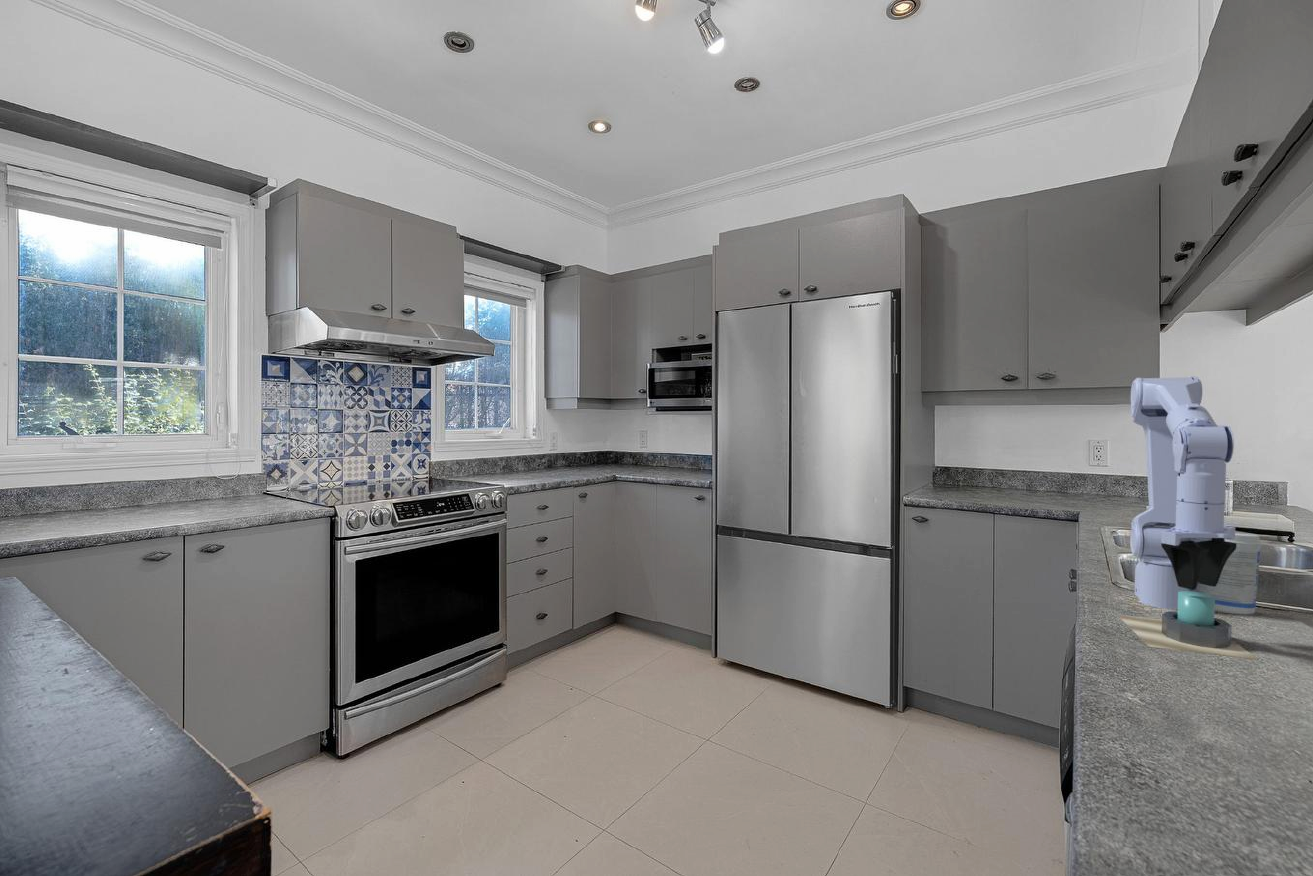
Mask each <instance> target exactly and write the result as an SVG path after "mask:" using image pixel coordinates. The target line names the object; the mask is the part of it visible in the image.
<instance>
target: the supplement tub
mask: <svg viewBox="0 0 1313 876" xmlns="http://www.w3.org/2000/svg"><path fill="white" fill-rule="evenodd" d="M1260 538H1261V537H1260V535H1259V534H1256V533H1251V532H1245V531H1238V530H1235V539H1225V541H1226V542H1232V543H1236V544H1237V545H1236V550H1235V551H1234V552H1233V553H1232V554H1231V555H1230V557H1229V558H1228V560H1227V561H1226V563H1225V565H1224V567H1223V570H1222V572H1221V575H1220V578H1219V580H1218V583H1217V585H1216V586H1215V587H1213V586H1208V585H1204V584H1199V583H1198V584H1197V587H1196V589H1195V590H1191V589H1189V591H1193V592H1200V593H1205V594H1209V595H1212V596H1214V597H1215V612H1218V613H1223V614H1232V615H1233V614H1234V615H1252V614H1255V613H1256V607H1257V605H1256V604H1257V593H1258V582H1259V581H1258V580H1259V571H1260V569H1259V568H1260V556H1261V543H1260V540H1261V539H1260Z"/></svg>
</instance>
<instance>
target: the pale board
mask: <svg viewBox="0 0 1313 876" xmlns="http://www.w3.org/2000/svg"><path fill="white" fill-rule="evenodd" d="M1117 617H1119V619H1121V621H1123V622H1124V623H1125V624H1126V625H1127V627H1129V628H1130V630H1132V631H1133V632H1134V633H1135V634H1136V635H1137V636H1138V637H1139V638H1140V640H1142V641H1143V642H1144V643H1145V644H1146V645H1147V646H1148V647H1150V648H1157V649H1163V650H1164V649H1165V650H1173V651H1174V650H1175V651H1183V652H1190V653H1199V654H1205V655H1216V656H1224V657H1233V658H1241V659H1248V660H1255V661H1259V660H1260V659H1259V657H1258V658H1257V657H1256V656H1255V655H1253V654H1252V653H1251V652H1249V651H1248V650H1246V648H1244V647H1242V646H1241V645H1240V644H1238V643H1237V642H1235V641H1234V640H1233V639H1231V645H1230V646H1229V647H1228V648H1209V647H1201V646H1195V645H1190V644H1186V643H1182V642H1178V641H1176V640H1173V639H1171V638H1168V637H1166V636H1165V635H1164V634H1163V633H1162V618H1152V617H1144V616H1133V615H1132V616H1131V615H1124V614H1117Z"/></svg>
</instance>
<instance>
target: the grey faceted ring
mask: <svg viewBox="0 0 1313 876" xmlns="http://www.w3.org/2000/svg"><path fill="white" fill-rule="evenodd" d="M1177 616H1178V610H1175V611H1165V612H1164V613H1163V614H1162V615H1161V619H1162V633H1163V634H1164V635H1165V636H1166V637H1168V638H1171V639H1173V640H1176V641H1178V642H1182V643H1186V644H1190V645H1195V646H1201V647H1209V648H1228V647H1229V646H1230V645H1231V640H1232V624H1230V622H1229V623H1228V622H1227V621H1226V620H1223V619H1220V618H1217V617H1214V626H1204V625H1196V624H1191V623H1187V622H1183V621H1180V620H1177Z"/></svg>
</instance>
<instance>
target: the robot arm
mask: <svg viewBox="0 0 1313 876" xmlns="http://www.w3.org/2000/svg"><path fill="white" fill-rule="evenodd" d="M1202 399H1203V384H1202V381H1201V379H1199V378H1198V376H1196V375H1194V376H1190V377H1151V378H1150V377H1148V378H1146V377H1136V378H1135V379H1134V380H1132V384H1131V388H1130V410H1131V411H1130V414H1131V418H1132V423H1135V424H1137V425H1139V426H1140V427H1142V428H1143V433H1144V436H1145V446H1146V448H1145V449H1146V467H1147V468H1146V471H1147V473H1146V474H1147V494H1148V498H1147V499H1148V509H1147V510H1145V511H1143V512H1141V513H1139V514H1137V515H1136V516H1134V517H1133V519H1132V521H1131V524H1130V525H1131V526H1130V527H1131V530H1130V537H1129V538H1130V539H1129V543H1130V551H1131V554H1132V556H1134V557H1135V558H1137V559H1139V561H1138V562H1137V564H1136V566H1135V569H1134V570H1135V571H1134V595H1135V597H1137V598H1138V601H1139V603H1142V604H1143V605H1147V606H1151V607H1154V608H1159V609H1165V610H1174V611H1178V592H1179V591H1189V589H1191V590H1195V589H1196V587H1197V584H1198V583H1199V584H1204V585H1208V586H1213V587H1215V586H1216V585H1217V583H1218V580H1219V578H1220V575H1221V572H1222V570H1223V567H1224V565H1225V563H1226V561H1227V560H1228V558H1229V557H1230V555H1231V554H1232V553H1233V552H1234V551H1235V550H1236V545H1237V544H1236V543H1232V542H1226V541H1225V539H1235V531H1236V527H1234V526H1227V525H1225V507H1226V505H1225V503H1226V502H1225V501H1226V482H1227V481H1226V479H1227V478H1226V477H1227V473H1226V472H1227V463H1230V462H1231V460H1232V458H1233V454H1234V448H1235V440H1234V439H1235V438H1234V433H1233V431H1232V429H1231V427H1230V426H1229V425H1228V424H1227V425H1226V424H1225V425H1224V424H1223V425H1218V424H1217V423H1216V422H1215V419H1213V417H1212V415H1211V414H1210V412H1209V411H1208V410H1207V408H1205V407H1204V406H1201V403H1202Z"/></svg>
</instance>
